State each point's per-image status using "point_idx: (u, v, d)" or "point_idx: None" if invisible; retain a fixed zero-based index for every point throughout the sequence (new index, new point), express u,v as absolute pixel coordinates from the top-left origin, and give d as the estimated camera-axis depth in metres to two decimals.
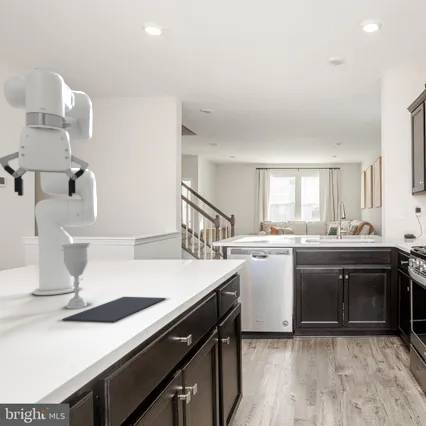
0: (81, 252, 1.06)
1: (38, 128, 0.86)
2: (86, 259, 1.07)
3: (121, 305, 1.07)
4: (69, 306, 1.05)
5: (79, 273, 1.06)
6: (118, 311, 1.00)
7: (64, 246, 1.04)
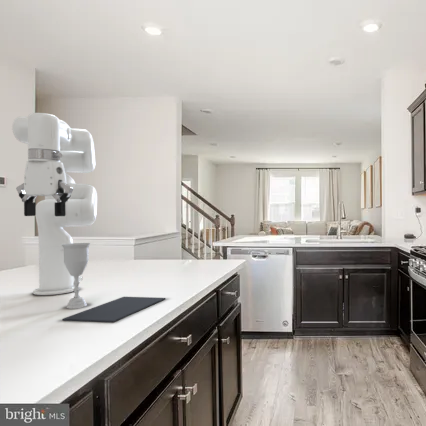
0: (81, 252, 1.06)
1: (33, 161, 1.05)
2: (86, 259, 1.07)
3: (121, 305, 1.07)
4: (69, 306, 1.05)
5: (79, 273, 1.06)
6: (118, 311, 1.00)
7: (64, 246, 1.04)
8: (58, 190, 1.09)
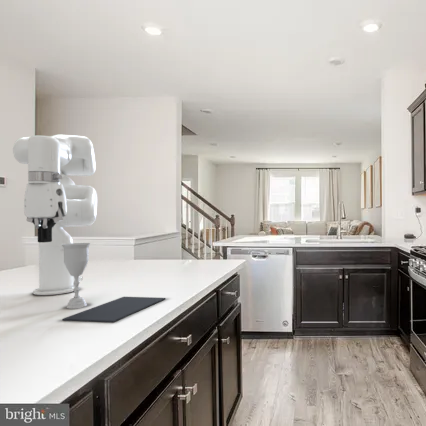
0: (81, 252, 1.06)
1: (33, 183, 1.06)
2: (86, 259, 1.07)
3: (121, 305, 1.07)
4: (69, 306, 1.05)
5: (79, 273, 1.06)
6: (118, 311, 1.00)
7: (64, 246, 1.04)
8: None
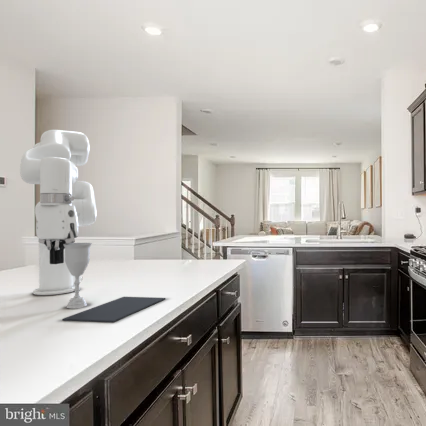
0: (82, 252, 1.06)
1: (45, 205, 1.05)
2: (87, 259, 1.07)
3: (121, 305, 1.07)
4: (69, 306, 1.05)
5: (80, 273, 1.06)
6: (118, 311, 1.00)
7: (66, 246, 1.04)
8: None
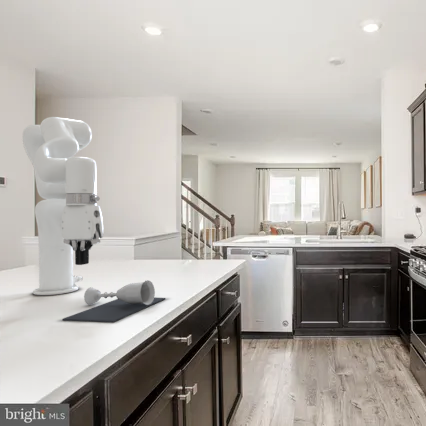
0: (134, 297, 1.05)
1: (70, 205, 1.05)
2: (129, 302, 1.06)
3: (121, 305, 1.07)
4: (89, 290, 1.08)
5: (117, 296, 1.07)
6: (118, 311, 1.00)
7: (142, 282, 1.06)
8: None
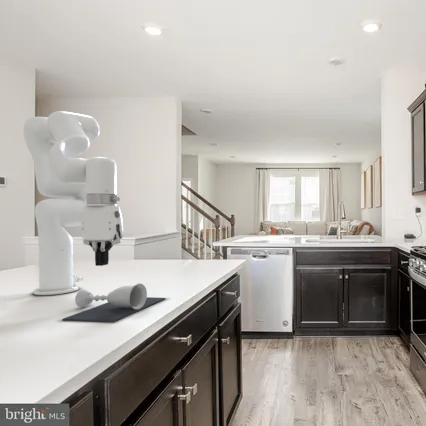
0: (131, 307, 1.03)
1: (91, 206, 1.04)
2: None
3: None
4: (77, 301, 1.04)
5: None
6: (118, 311, 1.00)
7: (129, 300, 1.00)
8: None
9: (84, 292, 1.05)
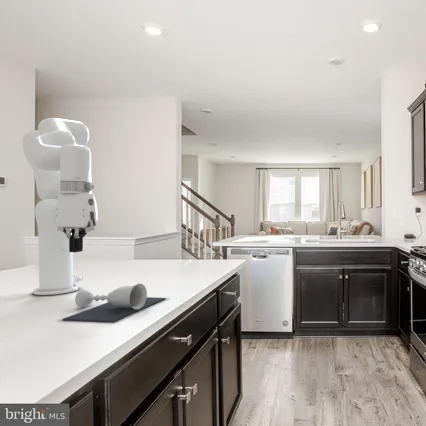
0: (131, 307, 1.03)
1: (65, 193, 1.05)
2: None
3: None
4: (77, 301, 1.04)
5: None
6: (118, 311, 1.00)
7: (129, 300, 1.00)
8: None
9: (84, 292, 1.05)
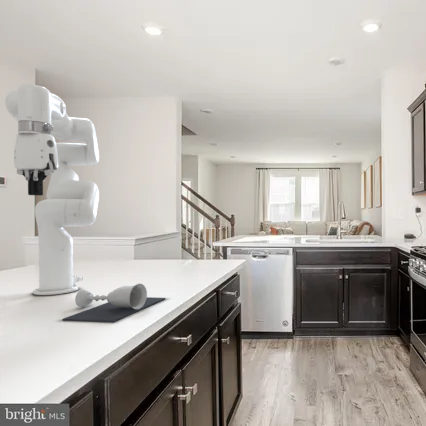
0: (131, 307, 1.03)
1: (23, 134, 1.03)
2: None
3: None
4: (77, 301, 1.04)
5: None
6: (118, 311, 1.00)
7: (129, 300, 1.00)
8: None
9: (84, 292, 1.05)
